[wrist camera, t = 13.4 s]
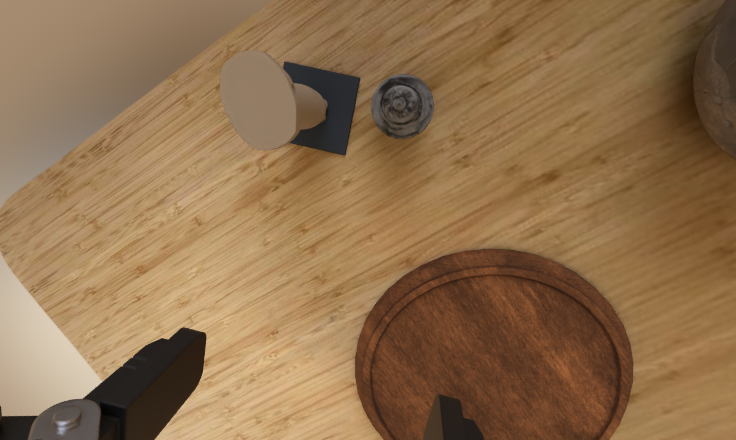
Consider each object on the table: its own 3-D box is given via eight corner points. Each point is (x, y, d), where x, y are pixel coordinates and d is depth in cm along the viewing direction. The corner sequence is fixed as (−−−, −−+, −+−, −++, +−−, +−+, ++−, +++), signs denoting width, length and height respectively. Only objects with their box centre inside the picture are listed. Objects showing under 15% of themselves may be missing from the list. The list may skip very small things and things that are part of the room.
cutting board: (457, 514, 51) (459, 533, 49) (304, 346, 47) (298, 358, 45) (683, 403, 44) (700, 420, 41) (523, 190, 40) (531, 195, 37)
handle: (305, 146, 41) (246, 159, 26) (281, 87, 39) (206, 68, 25) (346, 130, 40) (309, 135, 25) (323, 69, 38) (270, 38, 24)
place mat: (285, 62, 39) (284, 61, 39) (360, 78, 39) (359, 77, 38) (274, 138, 41) (273, 139, 41) (345, 154, 41) (344, 155, 40)
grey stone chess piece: (416, 146, 40) (417, 157, 28) (365, 122, 40) (346, 124, 28) (442, 93, 38) (455, 81, 26) (389, 68, 38) (379, 45, 26)
